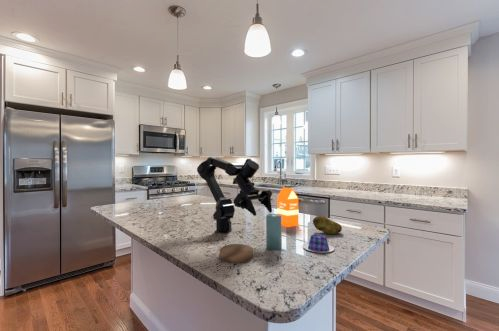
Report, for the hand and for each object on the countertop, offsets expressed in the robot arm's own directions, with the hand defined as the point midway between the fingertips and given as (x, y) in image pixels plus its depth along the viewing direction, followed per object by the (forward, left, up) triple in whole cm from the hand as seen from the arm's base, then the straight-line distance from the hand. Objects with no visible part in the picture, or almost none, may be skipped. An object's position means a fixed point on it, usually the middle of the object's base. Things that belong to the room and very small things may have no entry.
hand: (263, 213), depth 103 cm
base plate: (-5, -16, -13) cm, 21 cm away
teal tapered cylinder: (+5, -3, -13) cm, 14 cm away
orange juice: (+3, +36, -13) cm, 39 cm away
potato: (+24, +26, -13) cm, 38 cm away
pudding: (+22, +3, -13) cm, 26 cm away
